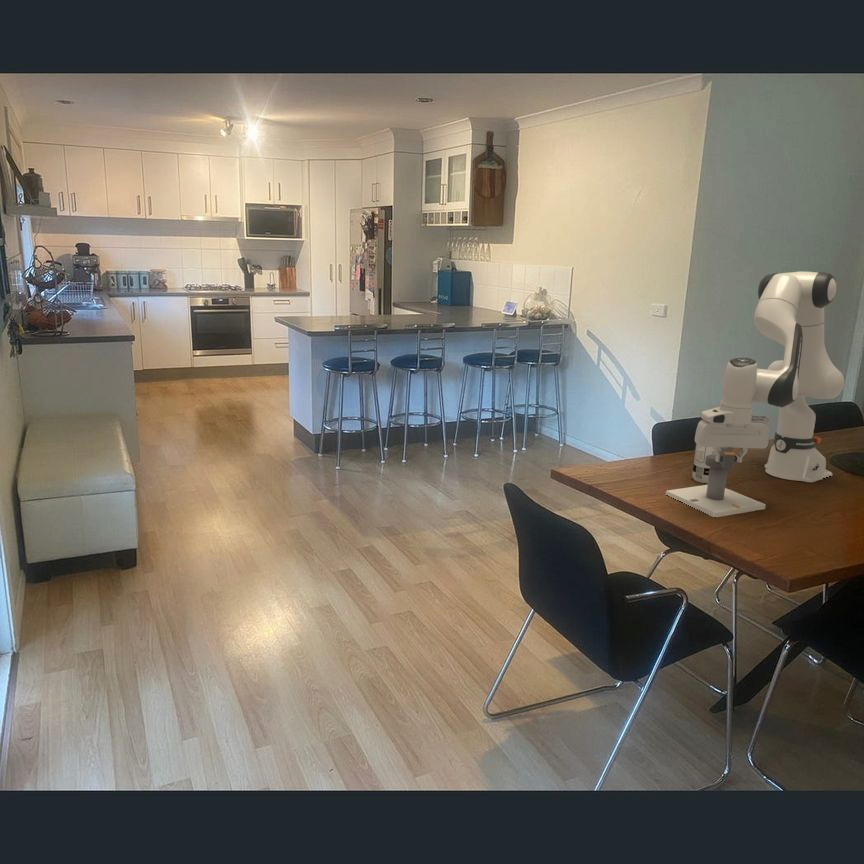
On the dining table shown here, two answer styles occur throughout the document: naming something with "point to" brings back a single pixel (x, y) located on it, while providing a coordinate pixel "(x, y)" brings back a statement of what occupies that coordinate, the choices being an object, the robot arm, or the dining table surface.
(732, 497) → the base
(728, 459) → the twist knob
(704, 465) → the supplement can
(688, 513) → the dining table surface
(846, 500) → the dining table surface
